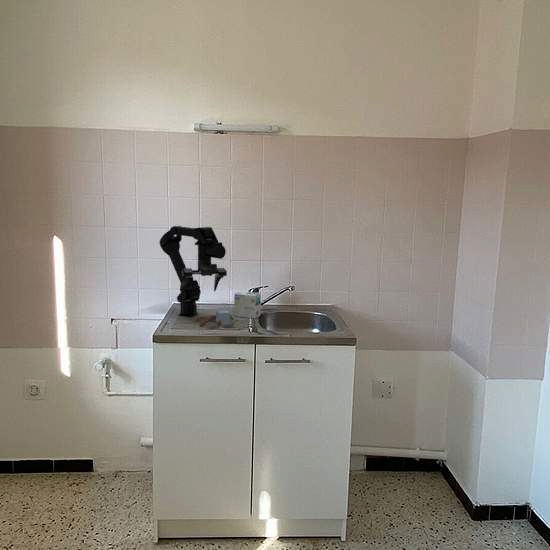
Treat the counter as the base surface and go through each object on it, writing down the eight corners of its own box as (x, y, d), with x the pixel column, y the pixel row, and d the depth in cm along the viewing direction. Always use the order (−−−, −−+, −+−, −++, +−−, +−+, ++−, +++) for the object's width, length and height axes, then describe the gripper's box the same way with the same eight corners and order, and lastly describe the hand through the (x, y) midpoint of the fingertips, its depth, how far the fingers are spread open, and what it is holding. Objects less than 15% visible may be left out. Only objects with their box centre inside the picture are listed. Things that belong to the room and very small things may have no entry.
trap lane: (202, 329, 197) (202, 324, 197) (195, 321, 209) (195, 316, 209) (240, 327, 202) (240, 322, 202) (231, 319, 215) (231, 314, 214)
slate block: (218, 324, 205) (218, 313, 205) (215, 321, 210) (216, 310, 209) (230, 323, 207) (230, 312, 206) (227, 320, 212) (227, 309, 211)
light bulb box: (260, 315, 223) (261, 292, 221) (255, 319, 216) (256, 295, 215) (239, 313, 226) (239, 290, 224) (233, 316, 220) (233, 293, 218)
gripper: (184, 259, 199) (184, 296, 201) (229, 258, 204) (228, 294, 206) (181, 255, 209) (181, 290, 212) (224, 255, 214) (224, 289, 217)
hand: (204, 291), depth 211 cm, fingers open, 9 cm apart
